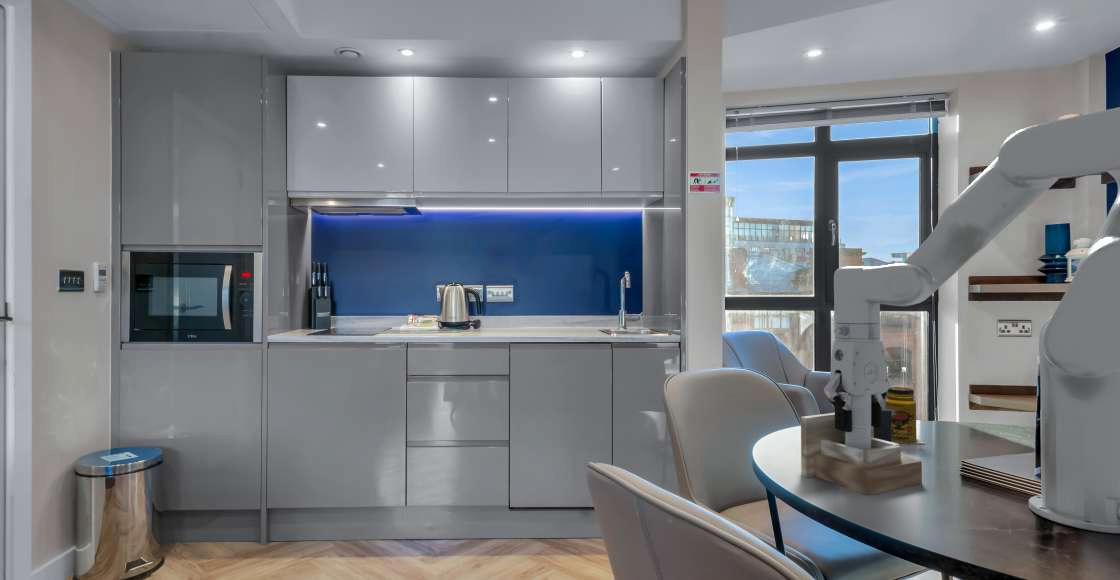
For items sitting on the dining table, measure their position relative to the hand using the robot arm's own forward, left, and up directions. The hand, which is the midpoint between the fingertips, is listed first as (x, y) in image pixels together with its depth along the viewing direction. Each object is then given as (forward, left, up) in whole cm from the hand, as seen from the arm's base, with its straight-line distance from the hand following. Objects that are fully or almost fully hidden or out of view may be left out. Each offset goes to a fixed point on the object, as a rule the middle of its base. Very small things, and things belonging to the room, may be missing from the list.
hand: (858, 427), depth 105 cm
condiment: (+15, -32, -9) cm, 36 cm away
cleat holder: (0, 0, -9) cm, 9 cm away
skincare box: (0, 0, -5) cm, 5 cm away
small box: (+10, -14, -9) cm, 19 cm away
